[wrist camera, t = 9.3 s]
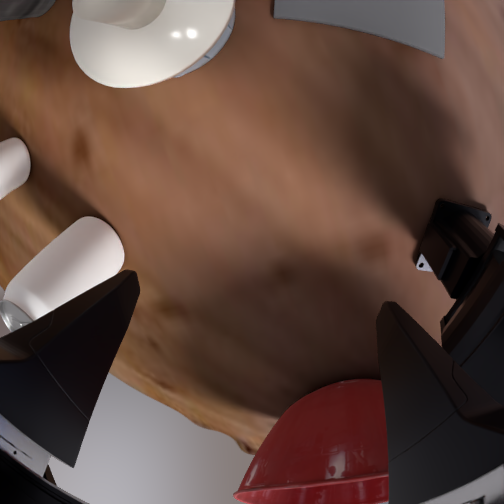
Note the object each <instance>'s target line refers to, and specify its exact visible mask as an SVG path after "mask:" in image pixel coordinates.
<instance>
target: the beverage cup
mask: <svg viewBox="0 0 504 504" xmlns="http://www.w3.org/2000/svg"><path fill="white" fill-rule="evenodd" d="M55 1H56V0H0V21H5V20H14V19H24V18H29V17H39V16H41V15H43V14H44V13H46V12H47V11H48V10H49V9H50V8H51V6H52V5H53V4H54V2H55Z"/></svg>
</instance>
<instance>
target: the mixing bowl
mask: <svg viewBox="0 0 504 504" xmlns="http://www.w3.org/2000/svg"><path fill="white" fill-rule="evenodd" d="M388 462H389V461H388V445H387V430H386V418H385V408H384V399H383V391H382V383H381V380H376V379H353V380H346V381H341V382H337V383H333V384H330V385H327V386H325V387H322V388H320V389H318V390H316V391H314V392H312V393H310V394H308V395H306V396H304V397H303V398H301V399H300V400H298V401H297V402H295V403H294V404H293V405H291V406H290V407H289V408H288V409H287V410H286V411H285V412H284V414H283V415H282V416H281V417H280V419H279V420H278V421H277V423H276V424H275V425H274V427H273V428H272V430H271V431H270V432H269V434H268V435H267V437H266V438H265V440H264V441H263V443H262V445H261V446H260V448H259V450H258V451H257V453H256V455H255V457H254V458H253V460H252V462H251V464H250V466H249V468H248V470H247V472H246V474H245V476H244V478H243V480H242V483H241V485H240V487H239V489H238V491H237V492H235V493H234V494H233V496H234V498H235V499H237V500H239V501H241V502H244V503H247V504H378V503H383V502H387V501H389V472H388Z"/></svg>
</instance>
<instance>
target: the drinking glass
mask: <svg viewBox="0 0 504 504" xmlns="http://www.w3.org/2000/svg"><path fill="white" fill-rule="evenodd" d="M30 166H31V164H30V155H29V152H28V149H27V147H26V145H25V144H24V142H23V141H22V140H20V139H18V138H9V139H7V140H4V141H2V142H0V200H1V199H2V198H3V197H5V196H6V195H7V194H9V193H10V192H11V191H13V190H15V189H16V188H18V187H20V186H21V185H23V184H24V183H25V182H26V180H27V179H28V176H29V173H30Z"/></svg>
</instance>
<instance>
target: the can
mask: <svg viewBox="0 0 504 504" xmlns="http://www.w3.org/2000/svg"><path fill="white" fill-rule="evenodd" d="M123 262H124V250H123V246H122V242H121V240H120V238H119V236H118V235H117V233H116V232H115V230H114V229H113V228H112V227H111V226H110V225H109V224H107V223H106V222H104V221H103V220H100V219H98V218H95V217H89V216H87V217H82V218H80V219H79V220H77V221H76V222H75V223H73V224H72V225H71V226H70V227H68V228H67V229H66V230H65V231H63V232H62V233H61V234H60V235H59V236H58V237H56V238H55V239H54V240H53V241H52V242H51V243H50V244H48V245H47V246H46V247H45V248H44V249H43V250H42V251H41V252H40V253H39V254H38V255H36V256H35V257H34V258H33V259H32V260H31V261H30V262H29V263H28V264H27V265H26V266H25V267H24V268H23V269H22V270H21V271H20V272H19V273H18V274H17V275H16V276H15V277H14V278H13V279H12V280H11V282H10V283H9V284H8V286H7V288H6V291H5V294H4V298H3V300H1V301H0V314H1V316H2V319H3V320H4V322H5V324H6V325H7V327H8V328H9V330H10V331H11V332H13V331H15V330H17V329H19V328H21V327H23V326H25V325H27V324H29V323H31V322H33V321H34V320H36V319H38V318H40V317H42V316H43V315H45V314H47V313H49V312H50V311H52V310H54V309H55V308H57V307H59V306H61V305H62V304H64V303H66V302H68V301H69V300H71V299H73V298H75V297H76V296H78V295H80V294H82V293H83V292H85V291H87V290H89V289H91V288H92V287H94V286H96V285H98V284H100V283H102V282H103V281H105V280H107V279H109V278H111V277H113V276H114V275H116V274H117V273H118V271H119V270H120V269H121V267H122V265H123Z"/></svg>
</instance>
